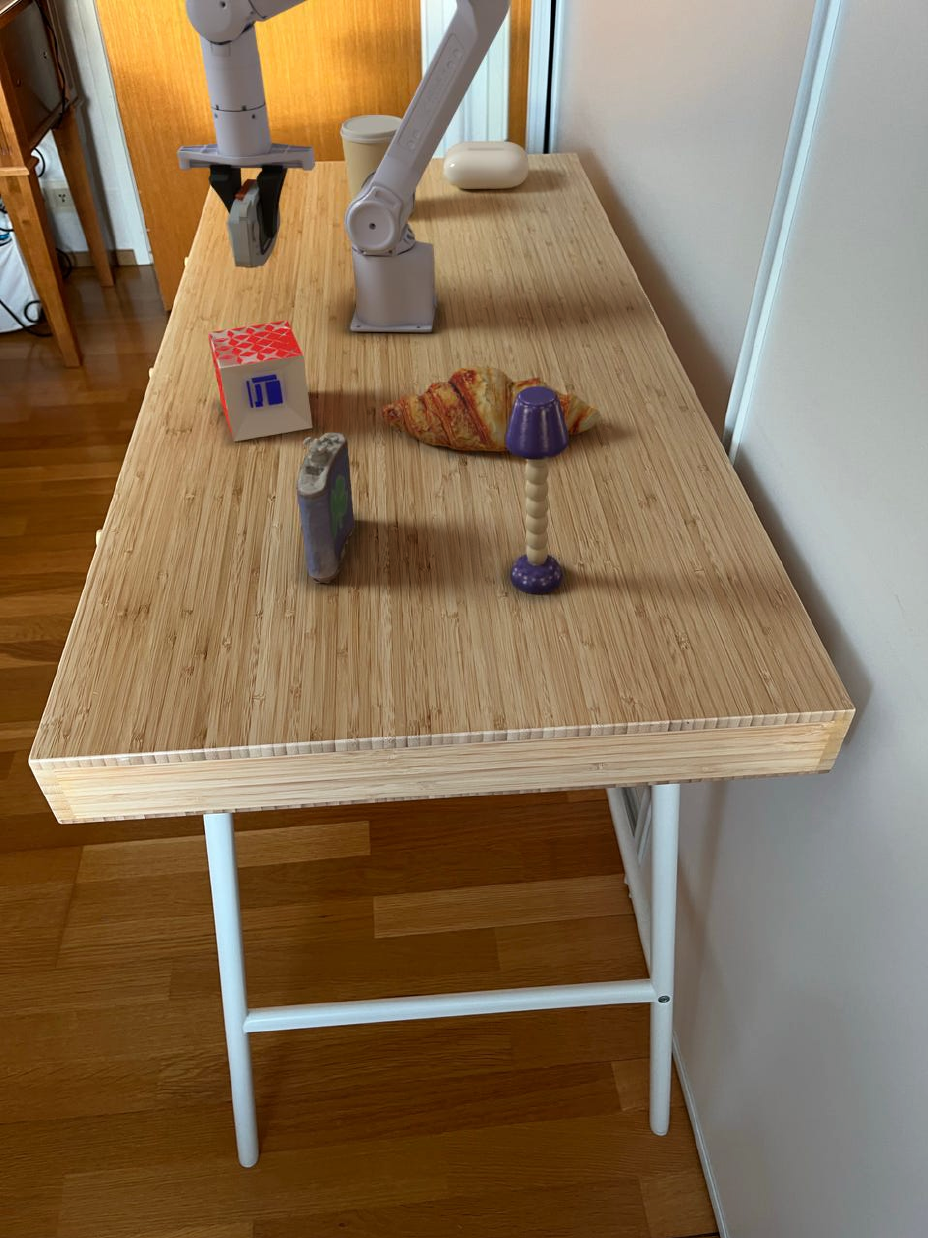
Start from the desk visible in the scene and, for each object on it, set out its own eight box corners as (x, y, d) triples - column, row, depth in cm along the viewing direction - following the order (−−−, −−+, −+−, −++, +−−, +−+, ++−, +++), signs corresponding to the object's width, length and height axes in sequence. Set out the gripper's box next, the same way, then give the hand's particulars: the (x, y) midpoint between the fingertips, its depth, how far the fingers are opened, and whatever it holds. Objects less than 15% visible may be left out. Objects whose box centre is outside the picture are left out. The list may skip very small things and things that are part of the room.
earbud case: (444, 172, 157) (443, 136, 153) (526, 172, 156) (527, 135, 153) (442, 194, 149) (441, 156, 145) (529, 194, 149) (530, 156, 145)
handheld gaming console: (258, 282, 109) (249, 208, 104) (231, 281, 109) (221, 206, 104) (284, 233, 120) (277, 163, 114) (260, 232, 120) (252, 162, 114)
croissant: (590, 445, 102) (592, 365, 100) (607, 453, 92) (610, 364, 90) (385, 447, 101) (383, 366, 99) (379, 454, 92) (377, 365, 90)
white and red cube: (297, 391, 104) (287, 320, 99) (312, 427, 99) (303, 354, 93) (221, 403, 102) (207, 332, 97) (232, 442, 97) (218, 368, 92)
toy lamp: (518, 601, 78) (523, 416, 67) (493, 568, 82) (495, 386, 71) (571, 585, 80) (585, 401, 69) (545, 553, 83) (554, 372, 72)
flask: (334, 585, 80) (319, 474, 73) (299, 583, 81) (281, 471, 73) (359, 519, 87) (348, 411, 80) (327, 517, 87) (313, 409, 80)
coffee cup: (410, 224, 140) (405, 133, 132) (344, 224, 140) (336, 133, 132) (413, 201, 147) (409, 113, 139) (350, 201, 147) (343, 113, 139)
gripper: (313, 93, 106) (327, 222, 115) (181, 93, 107) (204, 221, 116) (301, 112, 101) (316, 245, 110) (162, 112, 102) (188, 244, 111)
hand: (258, 234), depth 113 cm, fingers closed on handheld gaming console, 3 cm apart
